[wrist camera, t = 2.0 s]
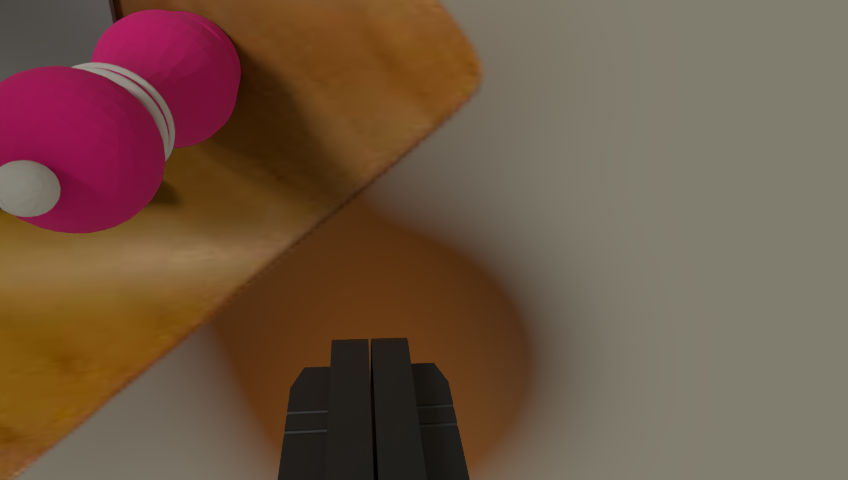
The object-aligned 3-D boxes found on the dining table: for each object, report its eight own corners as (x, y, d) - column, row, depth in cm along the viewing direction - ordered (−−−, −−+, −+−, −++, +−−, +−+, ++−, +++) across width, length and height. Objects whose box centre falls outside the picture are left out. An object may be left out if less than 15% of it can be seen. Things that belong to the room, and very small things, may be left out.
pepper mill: (126, -13, 31) (-168, 46, 13) (255, 19, 32) (142, 109, 15) (127, 108, 34) (-109, 282, 17) (243, 131, 35) (140, 312, 18)
